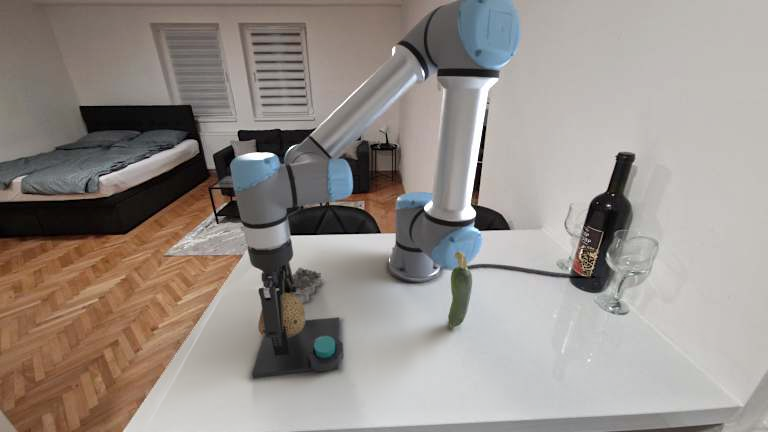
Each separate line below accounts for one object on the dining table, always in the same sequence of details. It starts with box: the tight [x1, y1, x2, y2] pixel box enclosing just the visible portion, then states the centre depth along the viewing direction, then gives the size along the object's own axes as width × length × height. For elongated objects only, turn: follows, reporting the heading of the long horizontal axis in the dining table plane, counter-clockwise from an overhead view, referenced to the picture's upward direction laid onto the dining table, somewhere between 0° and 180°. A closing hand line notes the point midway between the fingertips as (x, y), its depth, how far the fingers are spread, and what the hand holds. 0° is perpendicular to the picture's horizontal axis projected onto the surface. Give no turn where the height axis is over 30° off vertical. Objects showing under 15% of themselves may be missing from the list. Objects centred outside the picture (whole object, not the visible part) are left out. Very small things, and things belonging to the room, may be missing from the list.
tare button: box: [314, 336, 335, 359], centre depth 59 cm, size 4×4×2 cm
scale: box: [251, 316, 344, 379], centre depth 63 cm, size 17×14×3 cm
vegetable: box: [447, 252, 473, 329], centre depth 64 cm, size 4×4×20 cm
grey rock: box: [291, 267, 322, 304], centre depth 80 cm, size 11×8×4 cm
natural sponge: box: [257, 292, 306, 338], centre depth 62 cm, size 9×9×10 cm
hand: (286, 334), depth 64 cm, fingers closed on natural sponge, 9 cm apart
